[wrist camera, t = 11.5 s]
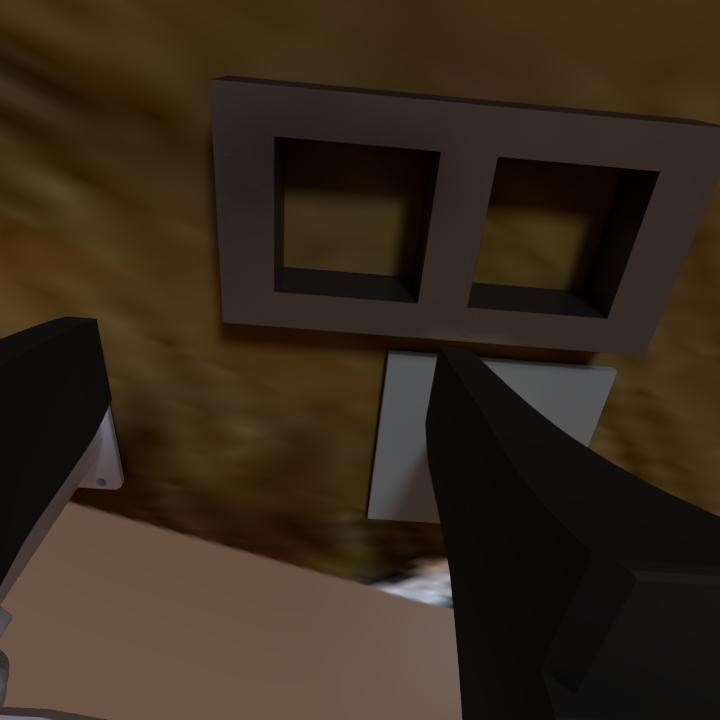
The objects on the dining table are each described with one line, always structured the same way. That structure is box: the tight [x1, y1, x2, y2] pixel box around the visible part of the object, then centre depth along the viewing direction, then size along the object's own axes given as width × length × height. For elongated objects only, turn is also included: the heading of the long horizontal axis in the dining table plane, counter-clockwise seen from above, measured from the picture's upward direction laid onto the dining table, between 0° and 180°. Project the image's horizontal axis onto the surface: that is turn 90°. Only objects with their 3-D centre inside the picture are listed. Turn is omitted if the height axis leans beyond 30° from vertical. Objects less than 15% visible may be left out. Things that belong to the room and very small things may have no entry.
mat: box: [368, 350, 617, 523], centre depth 25 cm, size 10×10×1 cm
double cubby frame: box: [209, 76, 720, 356], centre depth 19 cm, size 16×8×2 cm, turn 85°
